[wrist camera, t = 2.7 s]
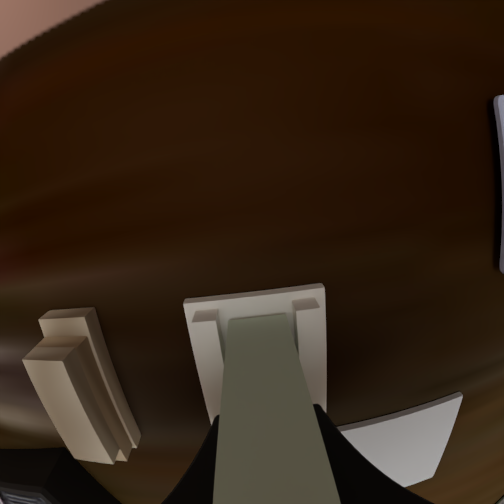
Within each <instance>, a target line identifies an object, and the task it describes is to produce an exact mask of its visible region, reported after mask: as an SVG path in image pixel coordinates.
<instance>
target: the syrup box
mask: <svg viewBox="0 0 504 504" xmlns="http://www.w3.org/2000/svg"><path fill="white" fill-rule="evenodd" d="M496 504H504V496H503V497H502V498H501V499H500V500H499V501H498V502H497V503H496Z"/></svg>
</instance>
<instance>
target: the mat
mask: <svg viewBox="0 0 504 504" xmlns="http://www.w3.org/2000/svg"><path fill="white" fill-rule="evenodd" d="M462 398H463V395H462V394H461V392H457V393H454V394H452V395H449V396H446V397H443V398H440V399H438V400H435V401H432V402H429V403H426V404H423V405H420V406H416V407H413V408H410V409H407V410H403V411H400V412H396V413H393V414H389V415H385V416H381V417H378V418H374V419H370V420H365V421H361V422H357V423H352V424H348V425H343V426H338V427H337V428H338V430H339V431H340V432H341V433H342V434H343V436H344V437H345V438H346V439H347V440H348V441H349V442H350V443H351V444H352V445H353V446H354V447H355V448H356V449H357V450H358V451H359V452H360V453H361V454H362V455H363V456H364V457H365V458H366V459H367V460H368V461H369V462H371V463H372V464H373V465H374V466H375V467H376V468H378V469H379V470H380V471H381V472H383V473H384V474H385V475H387V476H388V477H389V478H391V479H392V480H394V481H395V482H397V483H398V484H400V485H401V486H403V487H406V486H409V485H412V484H415V483H418V482H420V481H423V480H426V479H428V478H431V477H433V475H434V473H435V471H436V468H437V466H438V464H439V461H440V459H441V457H442V454H443V452H444V449H445V447H446V444H447V442H448V439H449V436H450V434H451V431H452V428H453V425H454V422H455V419H456V416H457V413H458V410H459V407H460V404H461V401H462Z"/></svg>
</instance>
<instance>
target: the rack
mask: <svg viewBox="0 0 504 504" xmlns="http://www.w3.org/2000/svg"><path fill="white" fill-rule="evenodd" d="M183 306H184V311H185V316H186V321H187V325H188V330H189V335H190V340H191V344H192V349H193V353H194V358H195V362H196V366H197V370H198V375H199V379H200V383H201V387H202V391H203V395H204V399H205V403H206V407H207V411H208V415H209V418H210V422H211V425H212V423H213V420H214V418H215V417H216V416H217V415H220V406H221V394H222V383H223V372H224V361H225V350H226V339H227V329H228V320H238V319H247V318H256V317H265V316H273V315H281V314H286V316H287V320H288V323H289V326H290V330H291V333H292V336H293V340H294V343H295V346H296V350H297V353H298V356H299V360H300V363H301V366H302V370H303V373H304V377H305V380H306V383H307V387H308V390H309V394H310V397H311V400H312V404H317V403H318V404H319V405H321V407H322V408H323V410H324V411H325V413H326V399H327V348H326V307H325V287H324V286H323V284H322V283H317V284H309V285H302V286H294V287H286V288H278V289H270V290H261V291H253V292H244V293H235V294H226V295H217V296H207V297H198V298H187V299H185V301H184V303H183Z"/></svg>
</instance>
